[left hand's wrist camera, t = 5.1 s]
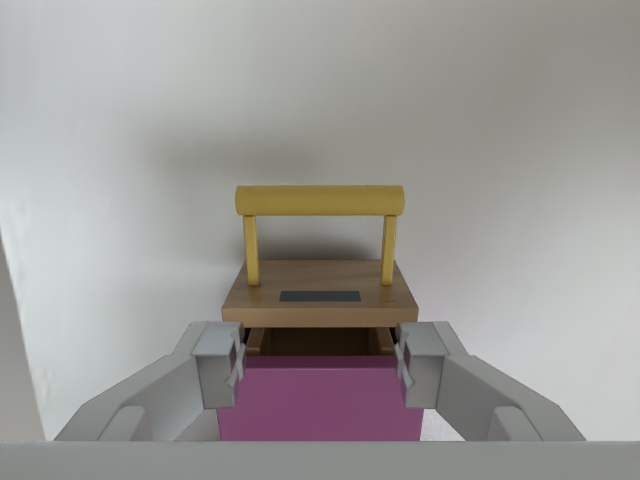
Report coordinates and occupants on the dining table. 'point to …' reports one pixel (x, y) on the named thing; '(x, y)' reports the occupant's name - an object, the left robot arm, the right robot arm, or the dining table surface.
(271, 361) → the purple drawer cabinet
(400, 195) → the drawer
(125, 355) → the dining table surface
